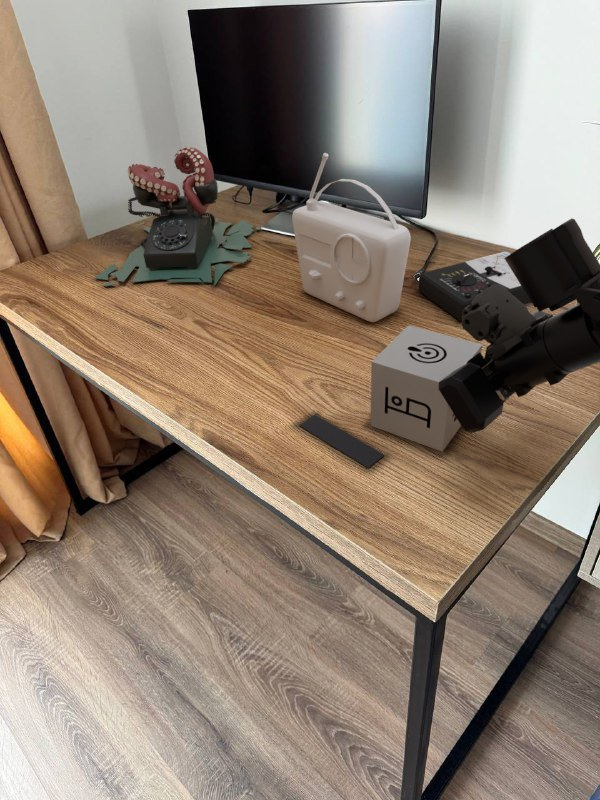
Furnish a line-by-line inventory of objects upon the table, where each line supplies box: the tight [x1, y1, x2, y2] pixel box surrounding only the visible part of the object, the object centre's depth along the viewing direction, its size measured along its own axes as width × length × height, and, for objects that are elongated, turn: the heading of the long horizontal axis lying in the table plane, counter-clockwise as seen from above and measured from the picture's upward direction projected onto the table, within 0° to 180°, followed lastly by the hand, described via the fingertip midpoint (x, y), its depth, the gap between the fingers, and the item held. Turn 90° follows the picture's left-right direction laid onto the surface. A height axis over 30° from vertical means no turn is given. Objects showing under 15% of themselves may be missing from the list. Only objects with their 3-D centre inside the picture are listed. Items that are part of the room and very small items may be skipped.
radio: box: [291, 152, 412, 323], centre depth 97 cm, size 22×8×25 cm, turn 42°
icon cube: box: [370, 324, 483, 453], centre depth 74 cm, size 10×10×10 cm
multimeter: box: [418, 251, 532, 322], centre depth 102 cm, size 13×19×5 cm
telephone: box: [94, 146, 262, 287], centre depth 122 cm, size 35×32×20 cm
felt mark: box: [298, 414, 385, 469], centre depth 75 cm, size 12×3×1 cm, turn 44°
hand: (455, 390), depth 70 cm, fingers closed, pressing on icon cube
